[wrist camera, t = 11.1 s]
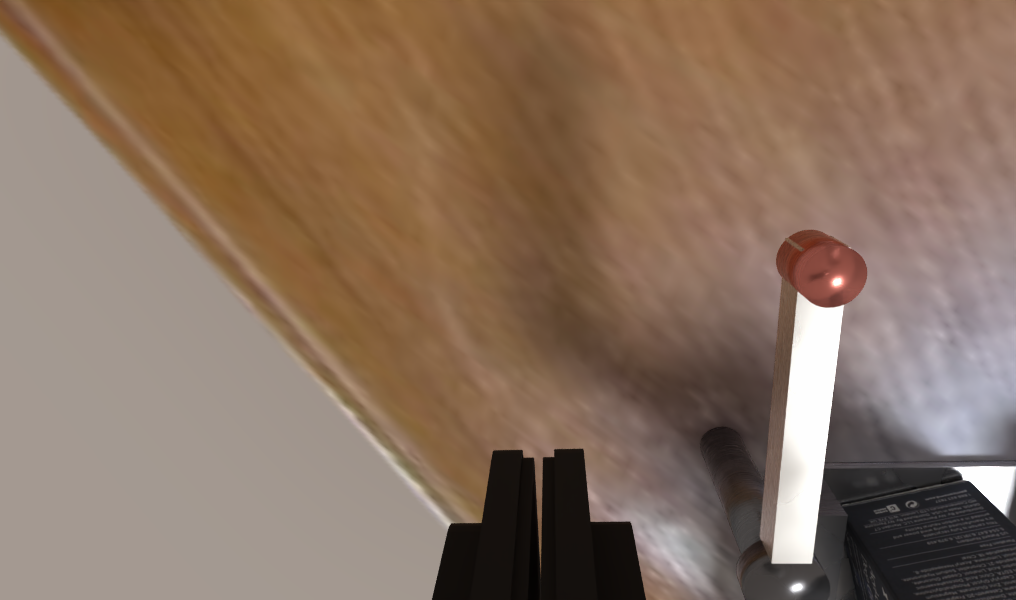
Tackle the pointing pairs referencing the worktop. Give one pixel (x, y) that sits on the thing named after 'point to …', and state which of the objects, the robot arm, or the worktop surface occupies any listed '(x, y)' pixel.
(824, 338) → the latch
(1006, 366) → the worktop surface
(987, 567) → the box
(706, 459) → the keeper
